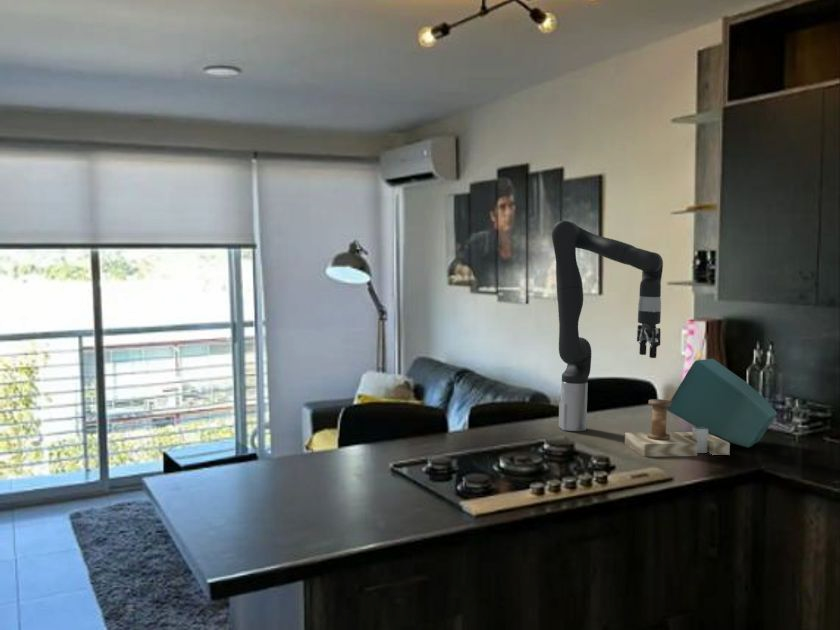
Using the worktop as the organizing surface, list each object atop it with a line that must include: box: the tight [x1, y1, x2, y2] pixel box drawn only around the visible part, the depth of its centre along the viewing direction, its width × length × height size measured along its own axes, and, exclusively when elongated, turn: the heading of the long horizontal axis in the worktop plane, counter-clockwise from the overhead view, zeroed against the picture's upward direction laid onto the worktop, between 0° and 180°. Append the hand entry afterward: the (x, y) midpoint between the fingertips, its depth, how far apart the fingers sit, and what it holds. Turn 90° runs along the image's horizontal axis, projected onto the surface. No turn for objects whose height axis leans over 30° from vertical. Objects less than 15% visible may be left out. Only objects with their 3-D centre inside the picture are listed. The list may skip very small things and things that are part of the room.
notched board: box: [624, 431, 731, 458], centre depth 244 cm, size 28×16×4 cm, turn 96°
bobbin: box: [647, 398, 671, 440], centre depth 243 cm, size 7×7×12 cm
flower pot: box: [667, 358, 778, 448], centre depth 255 cm, size 20×20×28 cm
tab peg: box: [691, 426, 708, 454], centre depth 241 cm, size 4×4×8 cm
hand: (647, 356), depth 262 cm, fingers open, 8 cm apart
